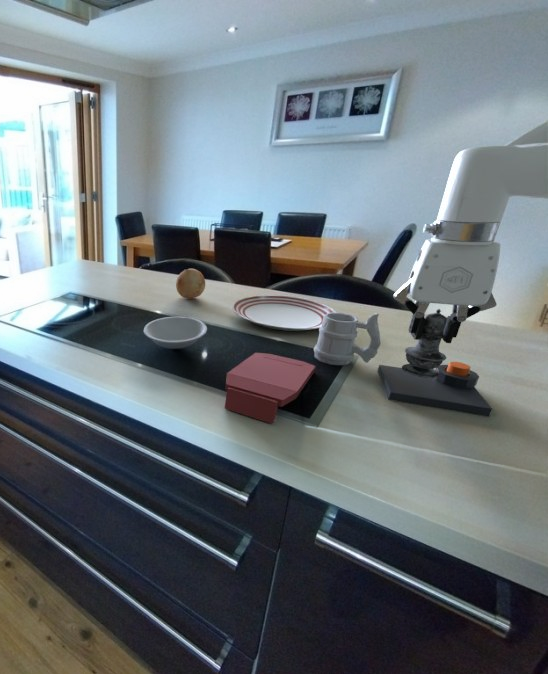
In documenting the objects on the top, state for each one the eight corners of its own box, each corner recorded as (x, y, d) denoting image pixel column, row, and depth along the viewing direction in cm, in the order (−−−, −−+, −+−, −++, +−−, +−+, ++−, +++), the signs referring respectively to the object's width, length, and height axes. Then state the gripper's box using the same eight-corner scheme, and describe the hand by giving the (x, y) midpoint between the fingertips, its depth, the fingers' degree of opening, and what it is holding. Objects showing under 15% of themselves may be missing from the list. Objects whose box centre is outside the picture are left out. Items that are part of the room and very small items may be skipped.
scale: (465, 384, 75) (471, 367, 74) (492, 418, 65) (500, 399, 63) (376, 370, 81) (380, 355, 80) (388, 400, 71) (393, 383, 69)
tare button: (464, 371, 73) (467, 363, 73) (470, 378, 71) (473, 369, 70) (444, 368, 74) (446, 360, 74) (449, 375, 72) (452, 367, 71)
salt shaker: (405, 361, 75) (422, 301, 70) (444, 371, 71) (465, 308, 66) (395, 370, 72) (413, 309, 67) (435, 382, 67) (457, 317, 63)
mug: (318, 348, 92) (328, 300, 87) (377, 362, 84) (392, 310, 80) (307, 359, 87) (317, 308, 82) (370, 375, 79) (384, 320, 75)
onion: (193, 304, 126) (195, 273, 122) (169, 298, 133) (170, 269, 129) (210, 298, 132) (212, 268, 128) (186, 292, 139) (188, 264, 135)
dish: (189, 368, 85) (190, 347, 83) (131, 354, 92) (131, 334, 90) (214, 340, 98) (216, 322, 96) (162, 330, 106) (163, 313, 104)
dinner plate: (350, 341, 95) (353, 329, 94) (233, 333, 102) (234, 321, 101) (322, 307, 119) (324, 296, 118) (229, 302, 126) (230, 292, 125)
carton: (253, 371, 90) (213, 404, 70) (257, 351, 88) (217, 379, 69) (311, 386, 83) (285, 427, 63) (316, 364, 82) (291, 400, 62)
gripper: (405, 234, 62) (377, 340, 69) (548, 237, 55) (501, 354, 62) (395, 228, 68) (370, 325, 75) (522, 230, 61) (482, 337, 68)
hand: (430, 337), depth 69 cm, fingers closed on salt shaker, 3 cm apart
